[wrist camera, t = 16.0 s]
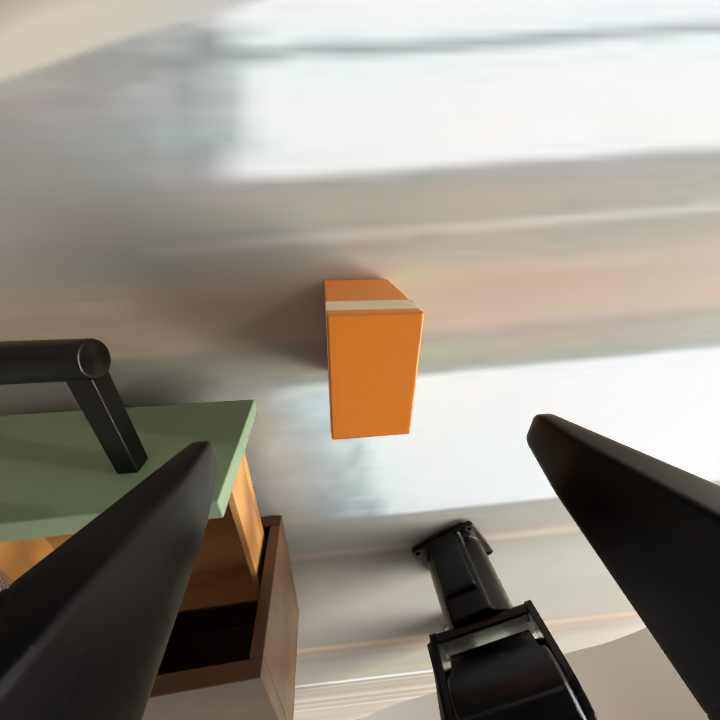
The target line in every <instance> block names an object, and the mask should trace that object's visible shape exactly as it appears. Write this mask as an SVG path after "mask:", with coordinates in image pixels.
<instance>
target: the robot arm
mask: <svg viewBox="0 0 720 720" xmlns="http://www.w3.org/2000/svg"><path fill="white" fill-rule="evenodd" d="M527 442H528V445H529V447H530V448H531V450H532V452H533V454H534V456H535V457H536V459H537V461H538V463H539V464H540V466H541V468H542V470H543V472H544V473H545V475H546V477H547V479H548V480H549V482H550V484H551V486H552V487H553V489H554V491H555V492H556V494H557V496H558V497H559V499H560V500H561V502H562V503H563V505H564V506H565V508H566V509H567V511H568V512H569V513H570V515H571V516H572V518H573V519H574V521H575V522H576V524H577V525H578V527H579V528H580V530H581V531H582V533H583V534H584V536H585V537H586V538H587V540H588V541H589V543H590V544H591V546H592V547H593V549H594V550H595V552H596V553H597V555H598V556H599V558H600V559H601V560H602V562H603V563H604V565H605V566H606V568H607V569H608V571H609V572H610V574H611V575H612V577H613V578H614V580H615V581H616V582H617V584H618V585H619V587H620V588H621V590H622V591H623V593H624V594H625V596H626V597H627V599H628V600H629V602H630V603H631V604H632V606H633V607H634V609H635V610H636V612H637V613H638V615H639V616H640V618H641V619H642V621H643V622H644V624H645V625H646V627H647V628H648V629H649V631H650V632H651V633H652V635H653V637H654V638H655V640H656V641H657V643H658V644H659V645H660V647H661V649H662V650H663V651H664V653H665V654H666V656H667V657H668V659H669V660H670V662H671V663H672V665H673V666H674V668H675V669H676V671H677V672H678V673H679V675H680V676H681V678H682V679H683V681H684V682H685V684H686V685H687V687H688V688H689V690H690V691H691V693H692V694H693V695H694V697H695V698H696V700H697V701H698V703H699V704H700V706H701V707H702V709H703V710H704V711H705V713H707V716H708V718H709V720H720V486H719V485H716V484H714V483H712V482H709V481H707V480H705V479H702V478H700V477H698V476H695V475H693V474H691V473H688V472H686V471H684V470H681V469H679V468H677V467H674V466H672V465H670V464H667V463H665V462H663V461H660V460H658V459H656V458H653V457H651V456H649V455H646V454H644V453H642V452H639V451H637V450H635V449H632V448H630V447H628V446H625V445H623V444H621V443H618V442H616V441H614V440H611V439H609V438H606V437H604V436H602V435H599V434H597V433H595V432H592V431H590V430H588V429H585V428H583V427H581V426H578V425H576V424H574V423H571V422H569V421H567V420H564V419H562V418H560V417H557V416H555V415H553V414H539V415H536V416H535V417H534V419H533V421H532V424H531V426H530V429H529V431H528V434H527ZM218 472H219V463H218V460H217V456H216V453H215V450H214V447H213V444H212V442H211V441H208V440H206V441H195V442H192V443H190V444H189V445H188V446H186V447H185V448H184V449H183V450H181V451H180V452H179V453H177V454H176V455H175V456H174V457H172V458H171V459H170V460H168V461H167V462H166V463H165V464H163V465H162V466H161V467H160V468H158V469H157V470H156V471H154V472H153V473H152V474H151V475H149V476H148V477H147V478H145V479H144V480H143V481H142V482H140V483H139V484H138V485H137V486H135V487H134V488H133V489H131V490H130V491H129V492H128V493H126V494H125V495H124V496H122V497H121V498H120V499H119V500H117V501H116V502H115V503H114V504H112V505H111V506H110V507H108V508H107V509H106V510H105V511H103V512H102V513H101V514H99V515H98V516H97V517H96V518H94V519H93V520H92V521H91V522H89V523H88V524H87V525H85V526H84V527H83V528H82V529H80V530H79V531H78V532H76V533H75V534H74V535H73V536H71V537H70V538H69V539H68V540H66V541H65V542H64V543H62V544H61V545H60V546H59V547H57V548H56V549H55V550H53V551H52V552H51V553H50V554H48V555H47V556H46V557H45V558H43V559H42V560H41V561H39V562H38V563H37V564H36V565H34V566H33V567H32V568H30V569H29V570H28V571H27V572H25V573H24V574H23V575H22V576H20V577H19V578H18V579H16V580H15V581H14V582H13V583H11V584H10V586H9V588H8V589H4V590H2V591H1V592H0V720H142V718H143V715H144V712H145V709H146V706H147V703H148V700H149V697H150V694H151V691H152V688H153V685H154V682H155V679H156V676H157V673H158V670H159V667H160V664H161V661H162V659H163V656H164V653H165V650H166V647H167V644H168V641H169V638H170V635H171V632H172V629H173V626H174V623H175V620H176V617H177V614H178V611H179V608H180V605H181V602H182V599H183V597H184V594H185V591H186V588H187V585H188V582H189V579H190V576H191V573H192V570H193V567H194V564H195V561H196V558H197V555H198V552H199V549H200V546H201V543H202V540H203V537H204V534H205V530H206V526H207V521H208V517H209V512H210V508H211V504H212V499H213V495H214V490H215V486H216V482H217V477H218ZM492 552H493V550H492V549H491V547H490V545H489V544H488V543H487V541H486V540H485V539H484V538H483V536H482V535H481V534H480V532H479V531H478V530H477V528H476V527H475V526H474V525H473V523H472V522H471V521H467V522H464V523H462V524H460V525H458V526H456V527H454V528H452V529H450V530H448V531H446V532H444V533H442V534H440V535H438V536H436V537H434V538H432V539H430V540H428V541H426V542H424V543H421V544H419V545H417V546H415V547H414V548H412V554H413V556H414V557H415V558H416V559H417V560H419V561H420V562H421V563H422V564H423V565H424V566H425V567H426V568H427V569H429V571H430V574H431V577H432V580H433V584H434V587H435V590H436V593H437V596H438V600H439V603H440V606H441V609H442V613H443V616H444V619H445V622H446V625H447V629H448V630H447V631H444V632H441V633H438V634H436V633H433V634H430V635H429V637H430V641H431V642H430V643H429V644H428V645H427V646H428V650H429V654H430V658H431V662H432V666H433V671H434V676H435V682H436V689H437V696H438V703H439V710H440V716H441V720H598V719H597V717H596V715H595V712H594V710H593V708H592V706H591V704H590V702H589V700H588V698H587V696H586V694H585V692H584V691H583V689H582V687H581V685H580V683H579V681H578V679H577V678H576V676H575V674H574V672H573V671H572V669H571V667H570V665H569V664H568V662H567V660H566V659H565V657H564V655H563V654H562V652H561V650H560V649H559V647H558V645H557V644H556V642H555V640H554V639H553V637H552V635H551V634H550V632H549V630H548V628H547V627H546V625H545V623H544V622H543V620H542V618H541V617H540V615H539V613H538V612H537V610H536V608H535V607H534V605H533V603H532V602H531V600H528V601H526V602H524V604H522V605H519V606H516V607H513V606H512V604H511V602H510V600H509V598H508V596H507V594H506V592H505V590H504V588H503V586H502V584H501V582H500V580H499V578H498V576H497V574H496V572H495V570H494V568H493V566H492V564H491V562H490V560H489V558H488V555H490V554H491V553H492ZM533 633H534V634H535V636H536V638H537V639H535V638H534V637H533V635H532V634H533Z"/></svg>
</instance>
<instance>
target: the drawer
mask: <svg viewBox="0 0 720 720" xmlns="http://www.w3.org/2000/svg"><path fill="white" fill-rule="evenodd" d="M110 364H111V357H110V353H109V350H108V348H107V347H106V346H105V344H103V343H102V342H101V341H99V340H96V339H91V338H90V339H61V340H32V341H3V342H0V385H5V384H25V383H44V382H64V381H66V382H67V384H68V386H69V388H70V390H71V391H72V393H73V395H74V397H75V399H76V401H77V402H78V404H79V406H80V408H81V411H65V412H50V413H34V414H18V415H2V416H0V577H1V578H2V579H3V580H5V581H6V582H7V583H8V584H9V585H10V584H11V583H13V582H14V581H15V580H16V579H18V578H19V577H20V576H22V575H23V574H24V573H25V572H27V571H28V570H29V569H30V568H32V567H33V566H34V565H36V564H37V563H38V562H39V561H41V560H42V559H43V558H45V557H46V556H47V555H48V554H50V553H51V552H52V551H53V550H55V549H56V548H57V547H59V546H60V545H61V544H62V543H64V542H65V541H66V540H68V539H69V538H70V537H71V536H73V535H74V534H75V533H76V532H78V531H79V530H80V529H82V528H83V527H84V526H85V525H87V524H88V523H89V522H91V521H92V520H93V519H94V518H96V517H97V516H98V515H99V514H101V513H102V512H103V511H105V510H106V509H107V508H108V507H110V506H111V505H112V504H114V503H115V502H116V501H117V500H119V499H120V498H121V497H122V496H124V495H125V494H126V493H128V492H129V491H130V490H131V489H133V488H134V487H135V486H137V485H138V484H139V483H140V482H142V481H143V480H144V479H145V478H147V477H148V476H149V475H151V474H152V473H153V472H154V471H156V470H157V469H158V468H160V467H161V466H162V465H163V464H165V463H166V462H167V461H168V460H170V459H171V458H172V457H174V456H175V455H176V454H177V453H179V452H180V451H181V450H183V449H184V448H185V447H186V446H188V445H189V444H190V443H192V442H195V441H206V440H208V441H211V442H212V444H213V447H214V450H215V453H216V456H217V460H218V463H219V472H218V477H217V482H216V486H215V490H214V495H213V499H212V504H211V508H210V512H209V517H208V521H207V526H206V530H205V534H204V537H203V540H202V543H201V546H200V549H199V552H198V555H197V558H196V561H195V564H194V567H193V570H192V573H191V576H190V579H189V582H188V585H187V588H186V591H185V594H184V597H183V599H182V602H181V605H180V608H179V611H178V614H180V613H187V612H194V611H201V610H207V609H214V608H221V607H228V606H234V605H241V604H248V603H255V602H258V598H259V592H260V586H261V580H262V573H263V567H264V561H265V555H266V549H267V543H266V538H265V534H264V530H263V526H262V522H261V518H260V514H259V509H258V505H257V501H256V497H255V493H254V489H253V485H252V480H251V476H250V472H249V468H248V464H247V460H246V456H245V448H246V445H247V442H248V439H249V436H250V433H251V430H252V427H253V424H254V420H255V417H256V414H257V411H256V406H255V401H254V400H241V401H225V402H209V403H193V404H177V405H161V406H145V407H129V408H125V406H124V404H123V402H122V400H121V398H120V395H119V393H118V391H117V389H116V387H115V385H114V383H113V380H112V378H111V376H110V374H109V372H108V370H109V368H110Z"/></svg>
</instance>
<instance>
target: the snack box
mask: <svg viewBox="0 0 720 720" xmlns="http://www.w3.org/2000/svg"><path fill="white" fill-rule="evenodd" d="M324 290H325V312H326V334H327V357H328V379H329V401H330V422H331V432H332V439H333V440H337V439H349V438H361V437H373V436H386V435H398V434H408V433H409V432H410V424H411V416H412V408H413V400H414V392H415V384H416V376H417V367H418V359H419V351H420V343H421V335H422V327H423V319H424V312H422V311H421V310H420V307H419V306H418V305H416V304H415V303H414V302H413V301H412V300H409V299H408V298H407V297H406V296H405V295H404V294H403V293H401V292H400V291H399V290H398V289H397V288H396V287H395V286H394V285H393V284H392V283H390V282H389V281H388V280H387V279H374V280H325V281H324Z"/></svg>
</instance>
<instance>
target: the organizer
mask: <svg viewBox="0 0 720 720" xmlns="http://www.w3.org/2000/svg"><path fill="white" fill-rule="evenodd" d="M261 522H262V526H263V530H264V534H265V538H266V543H267V549H266V555H265V561H264V567H263V573H262V580H261V586H260V592H259V598H258V602H255V603H248V604H241V605H234V606H228V607H221V608H214V609H207V610H201V611H194V612H187V613H180V614H177V617H176V620H175V623H174V626H173V629H172V632H171V635H170V638H169V641H168V644H167V647H166V650H165V653H164V656H163V659H162V661H161V664H160V667H159V670H158V673H157V676H156V679H155V682H154V685H153V688H152V691H151V694H150V697H149V700H148V703H147V706H146V709H145V712H144V715H143V718H142V720H293V712H294V694H295V675H296V656H297V637H298V617H299V608H298V603H297V597H296V592H295V586H294V581H293V576H292V570H291V565H290V559H289V554H288V549H287V543H286V538H285V532H284V527H283V522H282V517H281V516H274V517H265V518H261Z"/></svg>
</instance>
